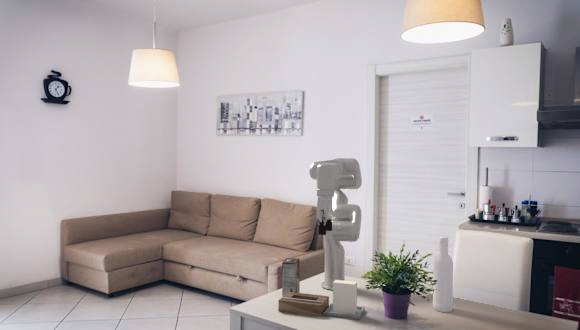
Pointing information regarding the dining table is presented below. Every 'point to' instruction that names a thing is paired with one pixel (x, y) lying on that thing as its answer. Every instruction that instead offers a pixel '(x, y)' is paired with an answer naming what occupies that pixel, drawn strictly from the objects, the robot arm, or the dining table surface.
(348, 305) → the white block
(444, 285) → the bottle
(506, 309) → the dining table surface
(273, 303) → the dining table surface
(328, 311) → the grey tray
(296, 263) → the tall grey box
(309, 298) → the brown wooden flat box
